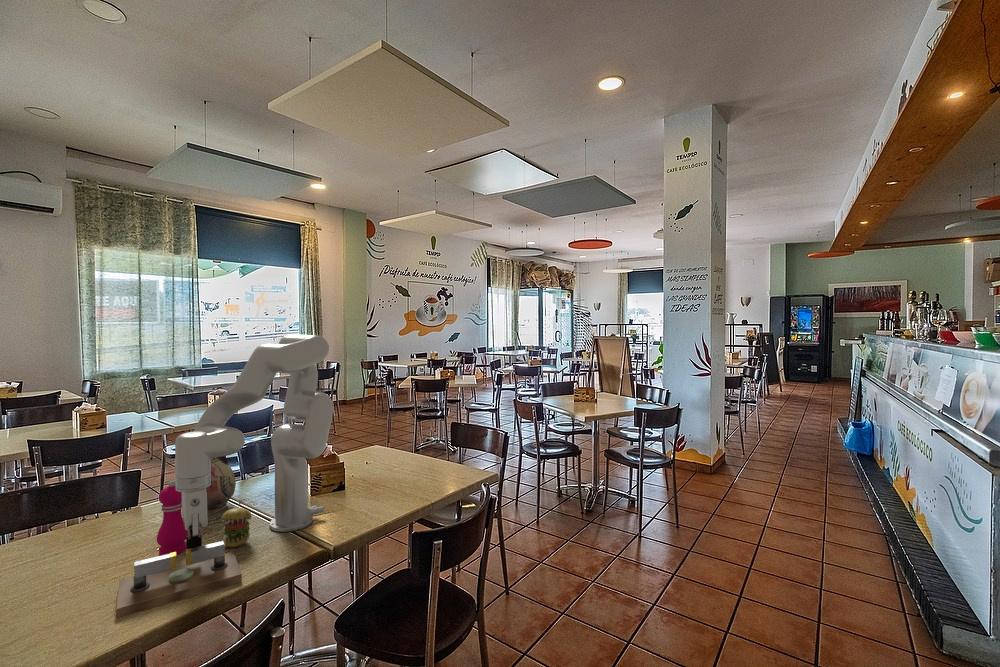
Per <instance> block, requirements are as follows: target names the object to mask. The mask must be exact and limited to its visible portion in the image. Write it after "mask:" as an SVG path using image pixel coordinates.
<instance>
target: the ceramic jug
mask: <svg viewBox="0 0 1000 667" xmlns="http://www.w3.org/2000/svg"><path fill="white" fill-rule="evenodd" d="M224 426H226V427H230V426H229V425H228V424H227V423H226V424H225V425H224ZM210 469H211V485H210V486H209V487H207V488H206V491H207V513H208V515H211V514H215V513H218V512H220V511H223V510H224V509H226V508H227V507H228V505H227V503H228V502H229V501H230V500H231V498H232V497H233V496H234V494H235V492H236V484H237V482H236V476H235V474H234V471H233V469H232V466H230V464H229V462H228V458H227V456H222V457H214V458H211V459H210Z"/></svg>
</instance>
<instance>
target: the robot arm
mask: <svg viewBox="0 0 1000 667" xmlns="http://www.w3.org/2000/svg"><path fill="white" fill-rule="evenodd" d="M329 351H330V345H329V343H328V340H326V338H325V337H323V336H322V335H318V334H299V333H297V334H296V333H295V334H294V333H293V334H287V335H284V336H282V337H281V338H280V339H279V342H278V343H263V344H260V345H258V346H256V348H255V349H254V350H253V352H252V353H251V355H250V357H249V358H248V360H247V362H246V363H245V365H244V367H243V368H242V370H241V372H240V374H239V375H238V377H237V379H236V381H235V383H234V384H233V385H232V387H231V388H230V389H228V390H226V391H225V392H224V393H223V394H222V395H221V396H219V397H218V398H217V399H215V400H214V401H213V402H212V403H211V404H210V405H209V406H208V407H206V410H204V411H203V413H202V415H201V417H200V418H199V420H198V421H197V423H196V425H195V427H194V429H193V431H190V432H184V433H182V434H179V435H178V436H177V437H176V438H175V442H174V448H175V449H174V451H175V452H174V453H175V454H174V455H175V457H174V460H175V461H174V463H175V464H174V465H175V467H174V468H175V482H176V491H178V492H181V493H182V508H181V514H182V518H183V521H184V526H185V530H186V531H187V536H188V537H186V540H185V542H186V549H190V548H195V547H200V546H203V544H202V543H203V542H202V540H203V539H202V537H203V536H202V527H203V528H208V526H209V520H208V519H209V517H208V515H209V514H208V513H207V491H206V488H207V487H209V486H210V485H211V469H210V459H211V458H214V457H222V456H226V457H228V456H232V455H235V454H236V453H238V452H240V451H241V450H242V448H243V447H244V445H245V440H246V439H245V435H244V433H243V432H242V430H239V429H238V428H236V427H231V426H229V427H226V426H224V425H225V424H227V422H228V421H229V420H230V419H231V418H232V417H233V416H234V415H235V414H236V413H238V412H239V411H241V410H243V409H245V408H247V407H250V406H253V405H254V404H257V403H259V402H261V401H262V400H263V399H264V397H265V396H266V394H267V392H268V390H269V388H270V386H271V384H272V382H273V380H274V379H275V377H276V375H277V374H278V373H279V374H289V380H288V385H287V389H286V395H285V399H284V404H283V413H284V415H285V417H286V418H288V419H291V420H296V421H302V422H305V424H304V425H303V424H297V423H286V424H282V425H280V426H277V428H276V429H274V431H273V433H272V435H271V439H270V446H271V451H272V456H273V461H274V462H273V463H274V518H272V519H271V520H270V522H269V529H271V531H273V532H281V533H283V532H284V533H288V532H294V531H299V530H302V529H305V528H306V527H308V526H309V525H311V524H312V523H313V520H314V515H315V514H320V513H321V514H322V513H323V512H324V506H323V505H321V506H318V505H312V506H309V504H308V503H309V501H308V500H309V499H308V498H309V497H308V485H309V484H308V483H309V482H308V480H309V478H308V477H309V476H308V471H309V470H308V468H309V467H308V462H307V459H309V460H310V459H316V458H318V457H321V455H322V454H323V452H324V451H325V450H326V447H327V443H328V439H329V434H330V429H331V424H332V419H333V413H334V404H333V400H332V398H331V396H330V395H328V394H327V393H325V392H323V391H317V387H318V386H317V385H318V381H319V380H318V379H319V371H318V369H317V366H316V364H319V363H321V362H323V361H324V360H325V359H326V357H327V356H328V355H329V353H330V352H329ZM298 529H299V530H298Z"/></svg>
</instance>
